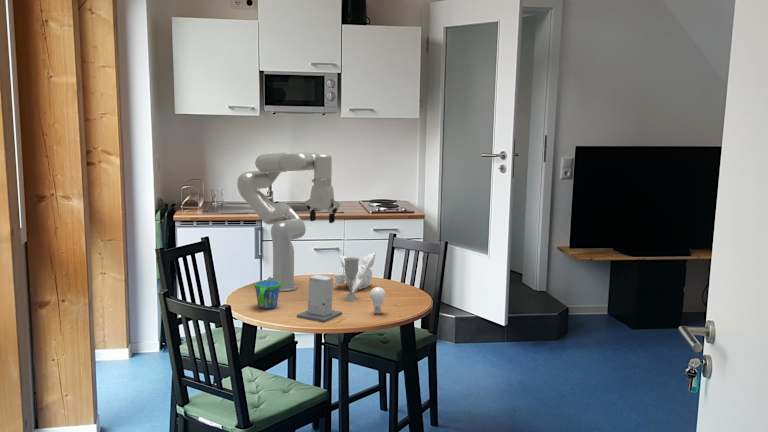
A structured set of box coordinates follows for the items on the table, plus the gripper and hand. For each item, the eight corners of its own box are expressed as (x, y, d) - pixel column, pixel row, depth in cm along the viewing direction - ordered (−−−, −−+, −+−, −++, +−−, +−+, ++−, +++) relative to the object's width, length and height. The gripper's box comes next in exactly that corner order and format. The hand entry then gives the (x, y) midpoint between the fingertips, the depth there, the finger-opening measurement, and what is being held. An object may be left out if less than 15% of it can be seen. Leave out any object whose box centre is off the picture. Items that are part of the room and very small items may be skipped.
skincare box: (307, 313, 263) (307, 277, 261) (315, 310, 268) (315, 274, 266) (325, 316, 259) (326, 279, 257) (333, 312, 265) (333, 276, 263)
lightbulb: (373, 316, 265) (373, 289, 263) (367, 312, 270) (367, 285, 269) (387, 314, 267) (388, 288, 266) (381, 310, 273) (382, 284, 271)
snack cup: (271, 313, 265) (271, 288, 264) (247, 311, 268) (247, 286, 267) (286, 303, 280) (286, 280, 279) (263, 301, 283) (263, 278, 282)
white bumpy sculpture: (377, 263, 323) (375, 248, 305) (377, 302, 315) (375, 289, 297) (339, 263, 324) (334, 248, 306) (338, 303, 316) (333, 290, 298)
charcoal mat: (296, 317, 261) (296, 314, 261) (315, 309, 272) (315, 307, 272) (324, 322, 255) (324, 319, 255) (342, 314, 267) (342, 311, 266)
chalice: (356, 302, 285) (357, 261, 283) (341, 301, 286) (341, 260, 284) (360, 298, 292) (361, 257, 290) (345, 296, 294) (346, 256, 291)
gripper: (301, 182, 288) (300, 221, 290) (335, 184, 280) (334, 224, 282) (310, 180, 294) (310, 219, 297) (344, 183, 286) (343, 222, 289)
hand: (322, 221), depth 289 cm, fingers open, 9 cm apart
